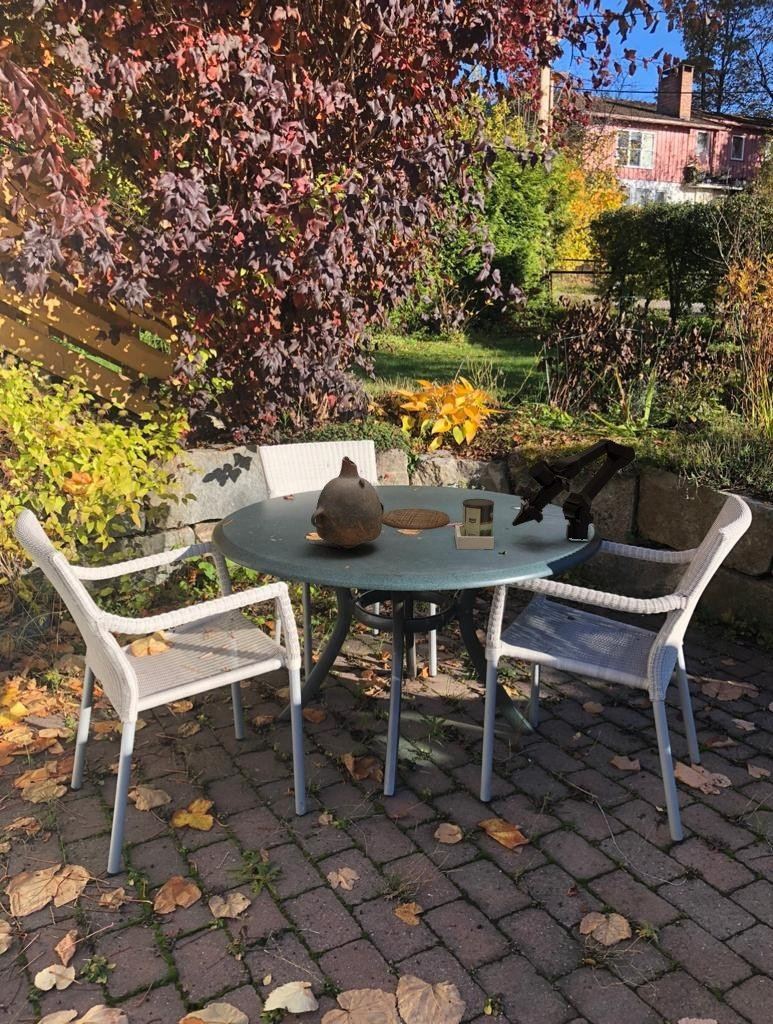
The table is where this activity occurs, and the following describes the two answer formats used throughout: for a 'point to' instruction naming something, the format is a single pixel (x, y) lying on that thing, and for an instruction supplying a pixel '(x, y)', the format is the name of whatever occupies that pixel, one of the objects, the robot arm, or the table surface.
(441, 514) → the trivet
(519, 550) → the table surface
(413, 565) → the table surface
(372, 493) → the jug
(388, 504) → the table surface
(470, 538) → the frame
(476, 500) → the coffee can
